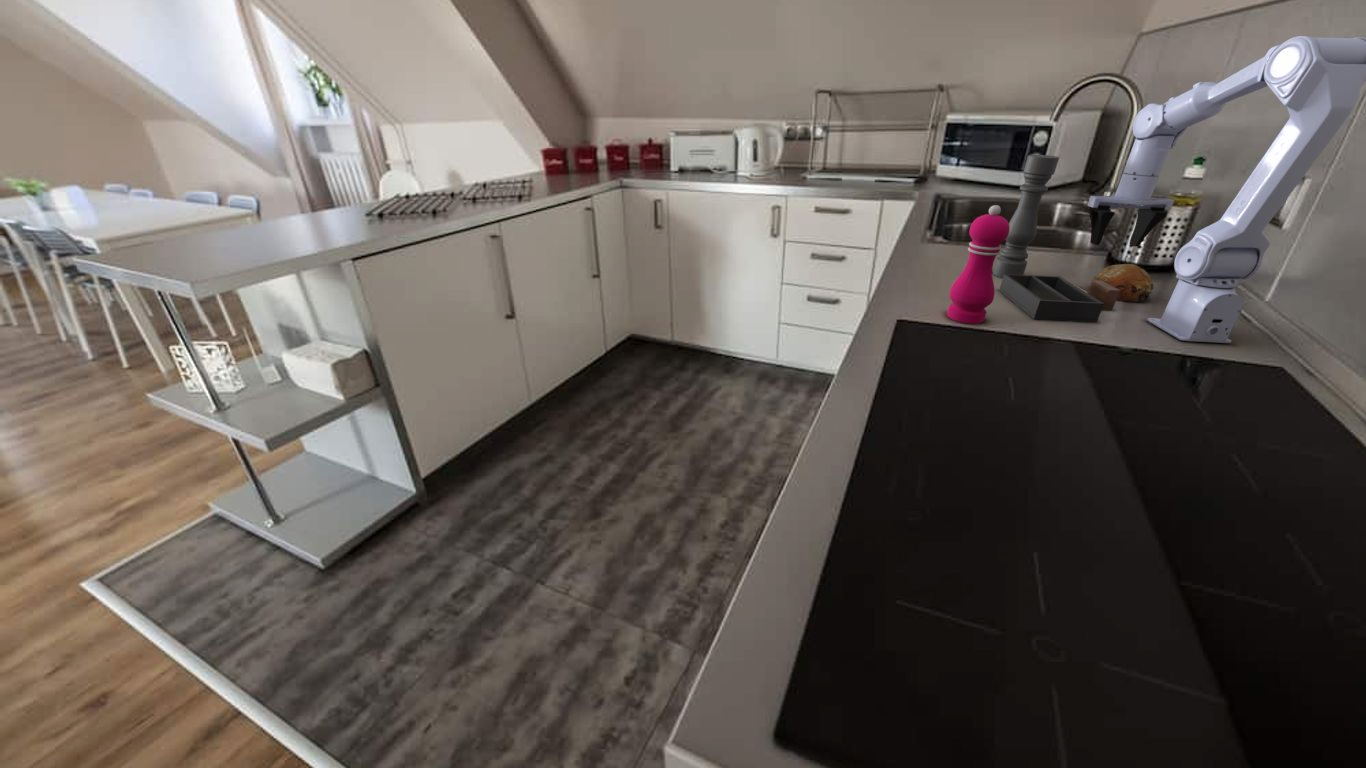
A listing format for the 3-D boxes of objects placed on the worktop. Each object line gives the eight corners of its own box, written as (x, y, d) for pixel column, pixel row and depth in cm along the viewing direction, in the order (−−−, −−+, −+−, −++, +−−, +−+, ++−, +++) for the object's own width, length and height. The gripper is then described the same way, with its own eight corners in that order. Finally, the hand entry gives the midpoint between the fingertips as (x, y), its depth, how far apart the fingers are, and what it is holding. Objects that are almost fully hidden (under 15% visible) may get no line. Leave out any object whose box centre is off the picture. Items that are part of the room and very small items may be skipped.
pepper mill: (991, 326, 98) (1027, 210, 89) (948, 323, 100) (978, 208, 90) (981, 312, 105) (1012, 202, 95) (940, 309, 106) (967, 200, 96)
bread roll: (1128, 306, 119) (1132, 269, 119) (1166, 302, 109) (1170, 260, 109) (1080, 304, 120) (1083, 266, 120) (1112, 299, 110) (1117, 258, 109)
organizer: (1096, 322, 101) (1104, 303, 99) (1033, 319, 102) (1040, 300, 100) (1054, 293, 115) (1059, 276, 113) (998, 290, 116) (1003, 273, 114)
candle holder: (986, 272, 127) (1019, 155, 115) (1004, 269, 130) (1039, 154, 118) (1010, 280, 122) (1047, 158, 111) (1029, 277, 125) (1067, 157, 113)
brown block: (1113, 310, 107) (1121, 290, 105) (1100, 309, 107) (1108, 289, 105) (1076, 288, 119) (1083, 269, 117) (1065, 287, 119) (1071, 269, 117)
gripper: (1167, 172, 110) (1139, 241, 117) (1090, 170, 112) (1066, 238, 118) (1192, 177, 104) (1161, 250, 111) (1110, 175, 105) (1084, 246, 112)
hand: (1114, 244), depth 114 cm, fingers open, 7 cm apart
